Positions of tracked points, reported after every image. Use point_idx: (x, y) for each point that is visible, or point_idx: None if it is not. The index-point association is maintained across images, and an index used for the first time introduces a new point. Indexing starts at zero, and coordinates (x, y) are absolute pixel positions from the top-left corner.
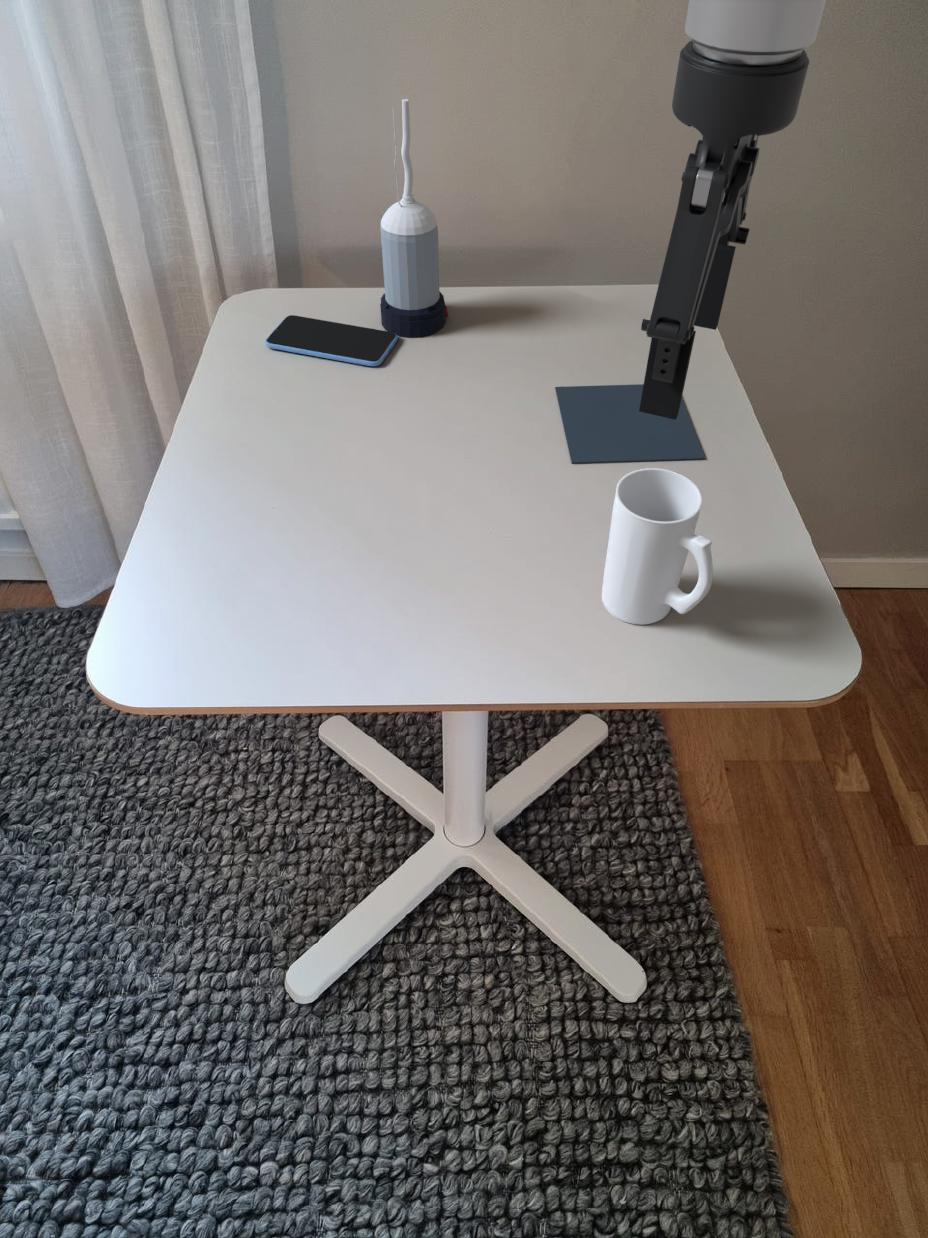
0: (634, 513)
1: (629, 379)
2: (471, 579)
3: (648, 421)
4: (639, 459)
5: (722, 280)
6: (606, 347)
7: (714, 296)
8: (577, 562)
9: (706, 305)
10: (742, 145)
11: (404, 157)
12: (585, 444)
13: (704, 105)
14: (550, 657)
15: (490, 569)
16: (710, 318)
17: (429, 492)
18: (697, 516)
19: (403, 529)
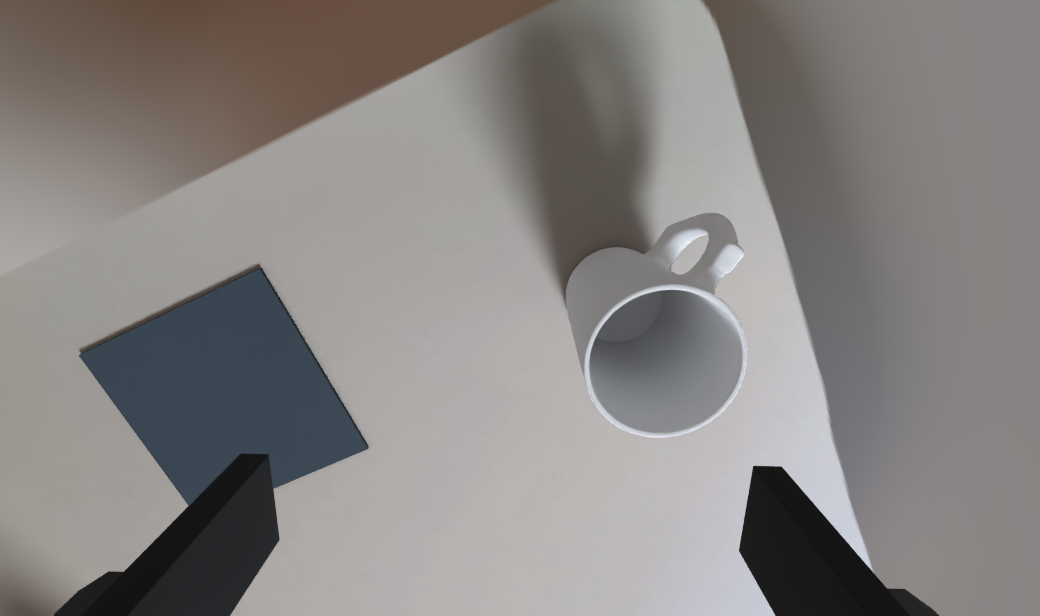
0: (591, 366)
1: (111, 425)
2: (645, 491)
3: (210, 372)
4: (314, 362)
5: (165, 587)
6: (42, 480)
7: (211, 549)
8: (569, 384)
9: (236, 540)
10: None
11: None
12: (317, 442)
13: None
14: (746, 368)
15: (620, 477)
16: (255, 494)
17: (508, 586)
18: (680, 282)
19: (586, 588)
